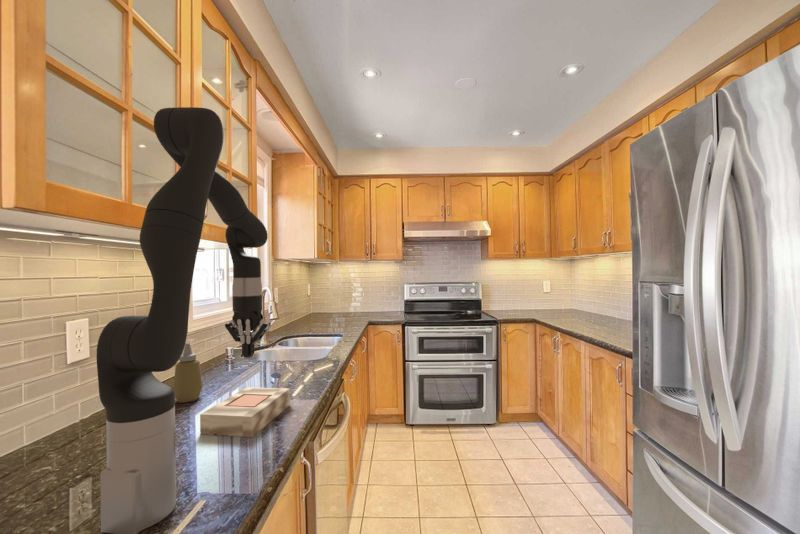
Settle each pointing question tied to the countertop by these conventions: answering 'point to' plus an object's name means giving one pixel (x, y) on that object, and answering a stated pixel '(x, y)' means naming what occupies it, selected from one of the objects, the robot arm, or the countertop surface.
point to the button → (249, 401)
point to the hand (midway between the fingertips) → (248, 356)
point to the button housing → (244, 413)
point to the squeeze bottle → (187, 377)
